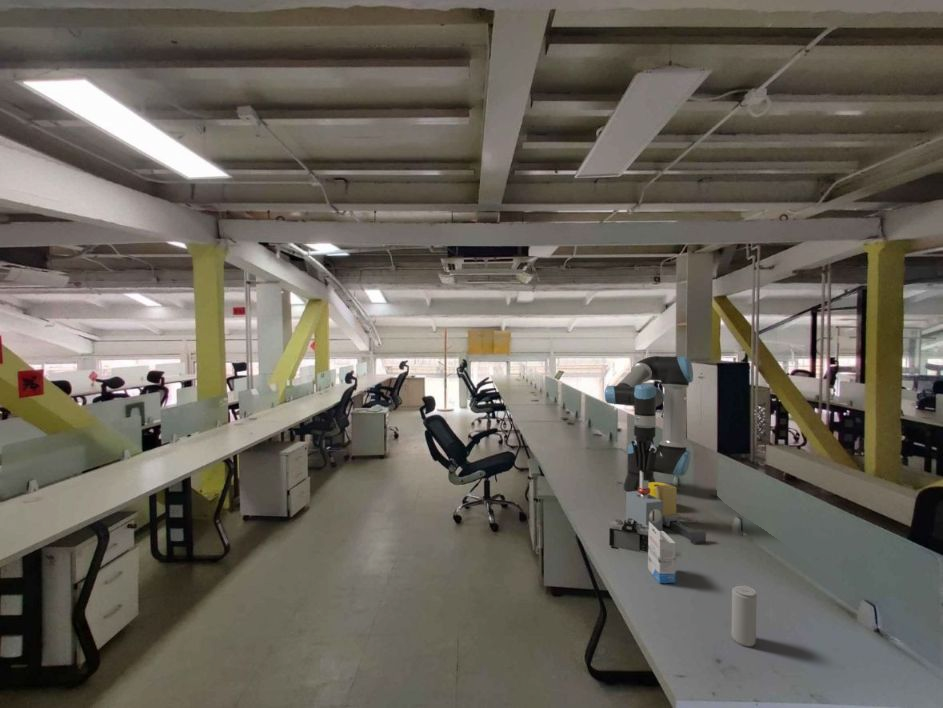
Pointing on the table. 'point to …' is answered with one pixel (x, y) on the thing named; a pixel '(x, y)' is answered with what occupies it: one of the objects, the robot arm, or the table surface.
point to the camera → (629, 535)
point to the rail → (689, 532)
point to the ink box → (661, 555)
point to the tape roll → (654, 487)
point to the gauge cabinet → (644, 509)
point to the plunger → (643, 492)
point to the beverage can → (744, 615)
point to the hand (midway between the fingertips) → (644, 488)
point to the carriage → (668, 503)
